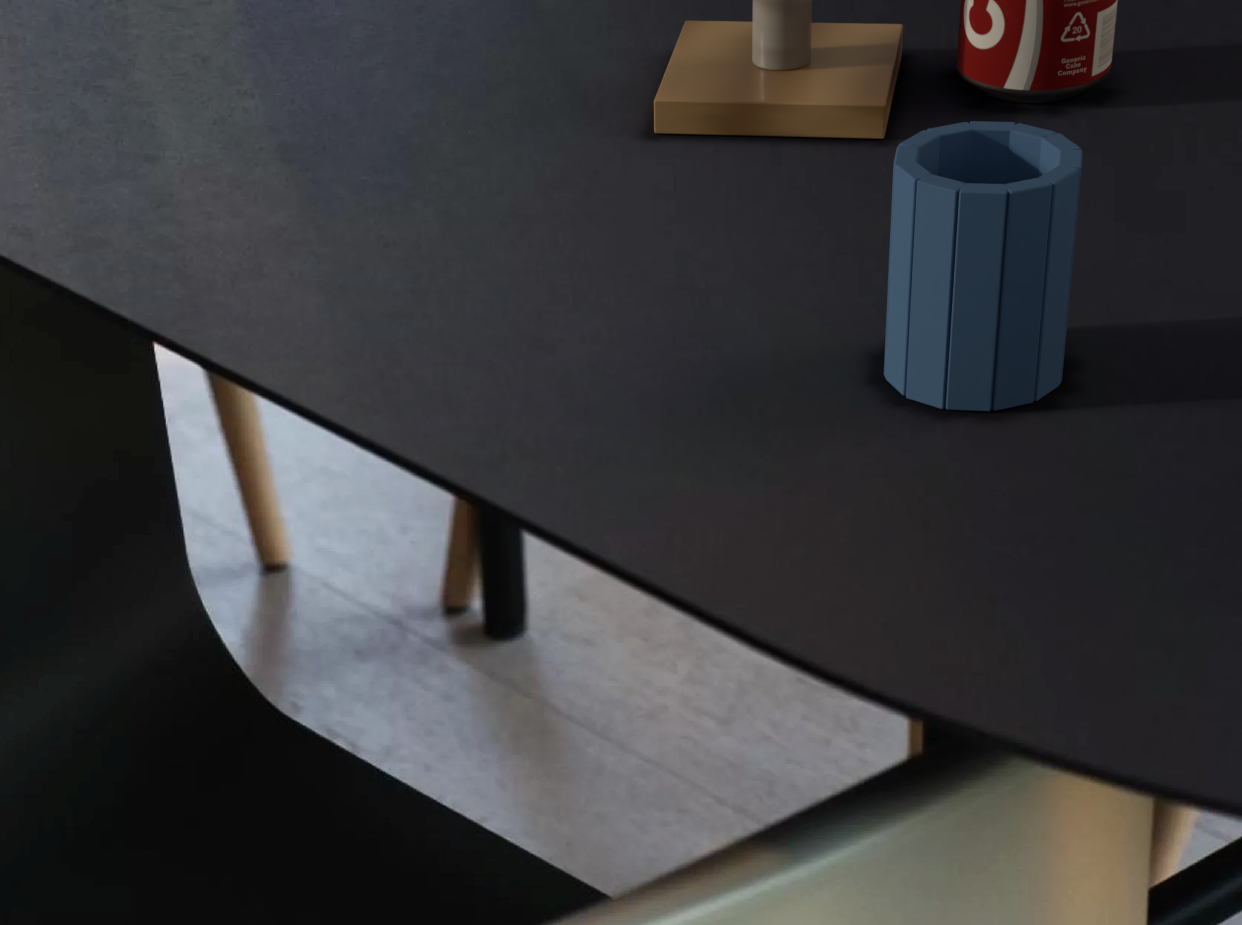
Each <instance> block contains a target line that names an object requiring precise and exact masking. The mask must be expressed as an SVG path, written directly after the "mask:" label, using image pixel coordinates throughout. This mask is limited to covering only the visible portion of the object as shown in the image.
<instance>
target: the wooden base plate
mask: <svg viewBox="0 0 1242 925" xmlns="http://www.w3.org/2000/svg"><path fill="white" fill-rule="evenodd" d="M903 35H904V25H903V24H902V23H863V22H861V23H860V22H859V23H857V22H852V23H851V22H813V0H752V20H751V21H742V20H741V21H738V20H737V21H735V20H734V21H733V20H732V21H731V20H729V21H728V20H685V21H684V23H683V26H682V29H681V31H680V33H679V36H678V38H677V40H676V44H675V45H674V49H673V51H672V54H671V56H670V59H669V62H668V64H667V67H666V69H665V72H664V74H663V77H662V78H661V82H660V84H659V87H658V90H657V92H656V95H655V97H654V100H653V129H654V130H653V132H654V134H658V135H659V134H660V135H661V134H662V135H699V136H701V135H702V136H737V137H738V136H740V137H741V136H742V137H743V136H745V137H782V138H783V137H784V138H785V137H786V138H787V137H788V138H821V139H822V138H825V139H826V138H827V139H828V138H829V139H864V140H865V139H868V140H869V139H870V140H871V139H872V140H884V139H885V138H886V131H887V127H888V123H889V118H890V112H891V108H892V102H893V98H894V93H895V90H896V84H897V80H898V75H899V70H900V65H901V61H902V56H903V39H904V38H903Z"/></svg>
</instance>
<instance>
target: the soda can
mask: <svg viewBox="0 0 1242 925" xmlns="http://www.w3.org/2000/svg"><path fill="white" fill-rule="evenodd" d="M1118 2H1119V0H960V2H959V3H960V4H959V19H958V20H959V21H958V36H957V51H956V71H957V73H958V75H959V76H960V77H961V78H962V79H963V80H964V81H965V82H966V83H969V84H970V85H972V86H973V87H976V88H977V89H978V90H979V91H980V92H982V93H983V94H985V95H987V96H989V97H992V98H993V99H997V100H1002V101H1006V102H1012V103H1020V104H1046V103H1047V104H1048V103H1054V102H1061V101H1065V100H1069V99H1071V98H1074V97H1076V96H1079V95H1081V94H1083V93H1084V92H1085V91H1086V90H1088V89H1091V88H1093V87H1095V86H1097V85H1098V84H1100V83H1101V82H1103V81H1104V80H1106V78H1107V77H1108V76H1109V75H1110V72H1111V70H1112V61H1113V52H1114V51H1113V50H1114V41H1115V32H1116V22H1117V12H1118Z"/></svg>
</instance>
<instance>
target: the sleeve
mask: <svg viewBox="0 0 1242 925" xmlns="http://www.w3.org/2000/svg"><path fill="white" fill-rule="evenodd" d="M892 166H893V167H892V188H891V189H892V190H891V208H890V209H891V210H890V229H889V230H890V232H889V233H890V234H889V251H888V252H889V253H888V274H887V275H888V278H887V295H886V296H887V297H886V300H887V301H886V318H885V339H884V340H885V341H884V360H883V361H884V362H883V376H884V378H885V380H886V381H887V382H888V383H889V384H890V385H891V386H892V387H893V388H894V389H895V390H896V391H898V393H900V395H901V396H904V397H905V398H906V399H907V400H912V401H914V402H918V403H921V404H924V405H927V406H931V407H934V408H937V409H940V410H944V409H945V410H947V411H966V412H967V411H970V412H991V410H992V411H1000V410H1006V409H1011V408H1015V407H1020V406H1024V405H1025V406H1026V405H1029V404H1033V403H1034V402H1038V401H1040V400H1041V399H1043V398H1044V397H1045V396H1047V395H1048V394H1050V393H1051V392H1052V391H1054V390H1055V389H1057V388H1058V387H1060V384H1062V381H1063V373H1064V372H1063V370H1064V360H1065V350H1066V342H1067V341H1066V338H1067V329H1068V318H1069V308H1070V297H1071V285H1072V276H1073V266H1074V264H1073V263H1074V252H1075V243H1076V234H1077V233H1076V232H1077V221H1078V212H1079V211H1078V209H1079V200H1080V199H1079V198H1080V189H1081V179H1082V178H1081V177H1082V167H1083V150H1082V148H1081V147H1080V146H1079V145H1077V144H1076V143H1074V142H1073V141H1072V140H1070V139H1069V138H1068V137H1066V136H1065V135H1063V134H1062V133H1061V132H1056V131H1054V130H1050V129H1046V128H1041V127H1037V126H1033V125H1029V124H1024V123H1021V122H1019V123H1018V122H1017V123H1016V122H1015V121H984V120H983V121H982V120H981V121H980V120H979V121H976V120H971V121H970V122H968V121H962V122H956V123H952V124H946V125H942V126H937V127H930V128H927V129H926V130H925V129H923V130H921V131H919V132H917V133H916V134H914V135H912V136H910V137H909V138H907V139H905V140H903V141H901V142H900V143H898V146H897V147H896V150H895V155H894V159H893V165H892Z"/></svg>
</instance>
